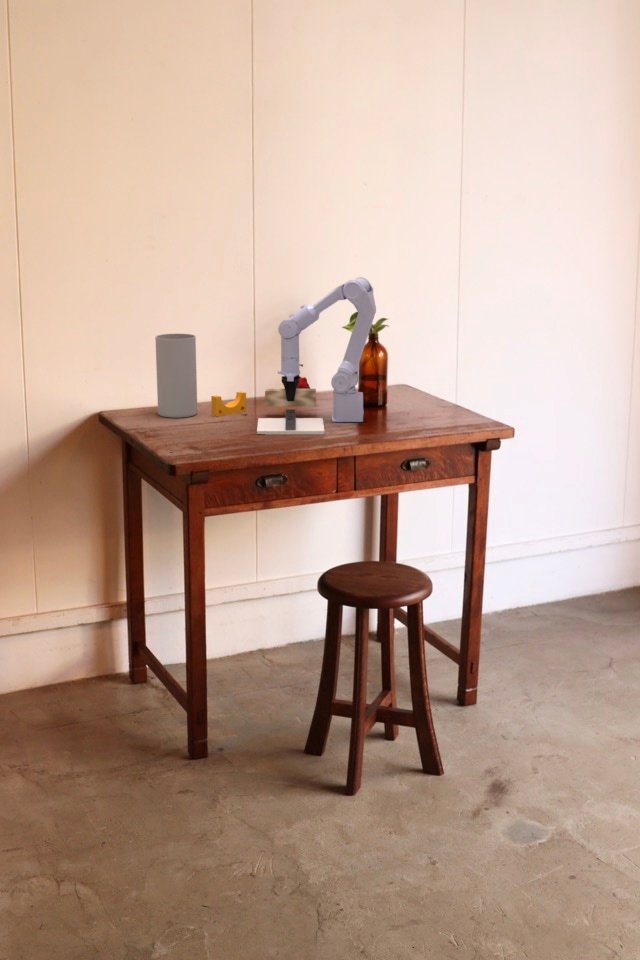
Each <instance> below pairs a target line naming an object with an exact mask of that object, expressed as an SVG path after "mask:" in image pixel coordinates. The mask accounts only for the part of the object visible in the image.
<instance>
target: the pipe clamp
mask: <svg viewBox="0 0 640 960" xmlns="http://www.w3.org/2000/svg"><path fill="white" fill-rule="evenodd" d="M210 401H211V416H212V415H214V416H213V417H216V416H218V417H222V416H221V415H224V416H227V415H226V414H230V415H233V414H232V413H235V414H239V413H238V412H241V413H244V412H243V411H246V412H247V392H245V391H242V390H241V391H237V392H236V394H235V398H234V400H231V401H229V402H227V403H226V404H224V403H223V400H222V396H220V395H211V400H210Z"/></svg>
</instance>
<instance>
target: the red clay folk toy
mask: <svg viewBox="0 0 640 960" xmlns="http://www.w3.org/2000/svg"><path fill="white" fill-rule="evenodd" d="M299 367H302V368H303V367H304V364H303V363H301V364H300V363H299ZM298 380H299V383H298V385H297V388H296V389H311V387H310V384H309V383H308V379H307V377H305V376H304V377H302V376H300V375H299V379H298Z"/></svg>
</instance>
